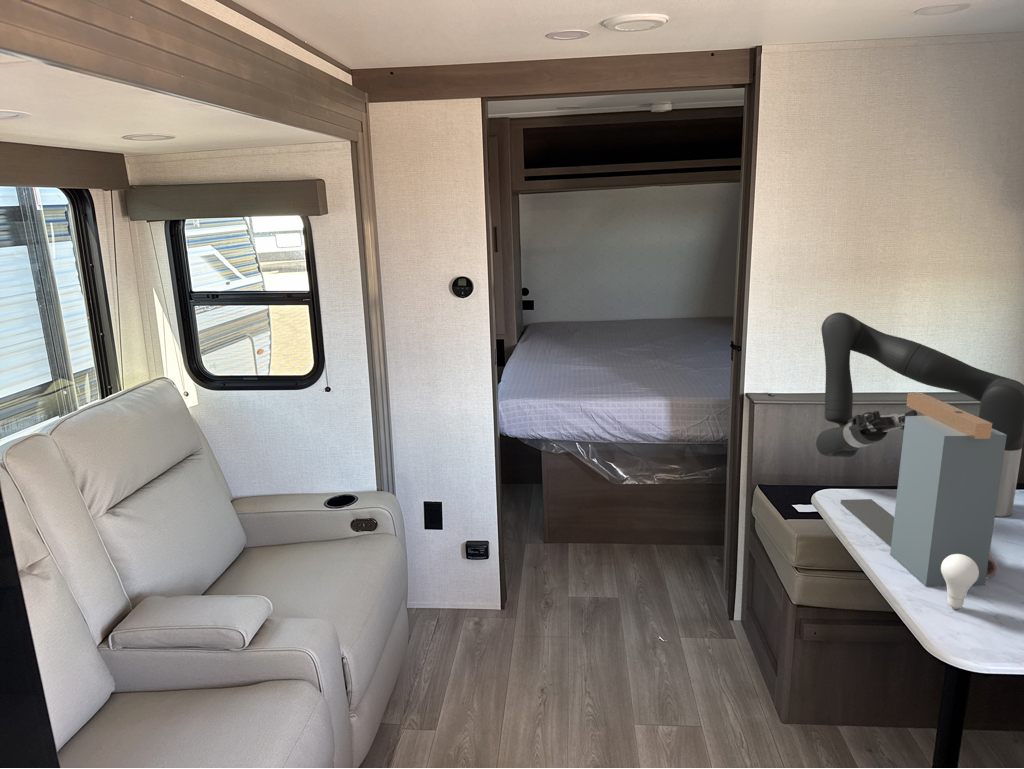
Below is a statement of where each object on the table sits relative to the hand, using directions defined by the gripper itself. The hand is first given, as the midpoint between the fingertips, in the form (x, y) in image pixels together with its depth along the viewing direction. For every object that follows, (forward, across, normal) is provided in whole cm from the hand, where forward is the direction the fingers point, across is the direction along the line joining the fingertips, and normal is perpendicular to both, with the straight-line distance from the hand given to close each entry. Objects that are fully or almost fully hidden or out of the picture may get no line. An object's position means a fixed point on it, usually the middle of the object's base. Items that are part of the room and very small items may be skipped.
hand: (896, 414), depth 167 cm
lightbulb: (+17, -5, +43) cm, 46 cm away
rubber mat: (-16, 0, +23) cm, 28 cm away
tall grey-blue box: (+4, 0, +35) cm, 35 cm away
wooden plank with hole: (+18, 0, +6) cm, 19 cm away
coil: (0, +11, +33) cm, 35 cm away
